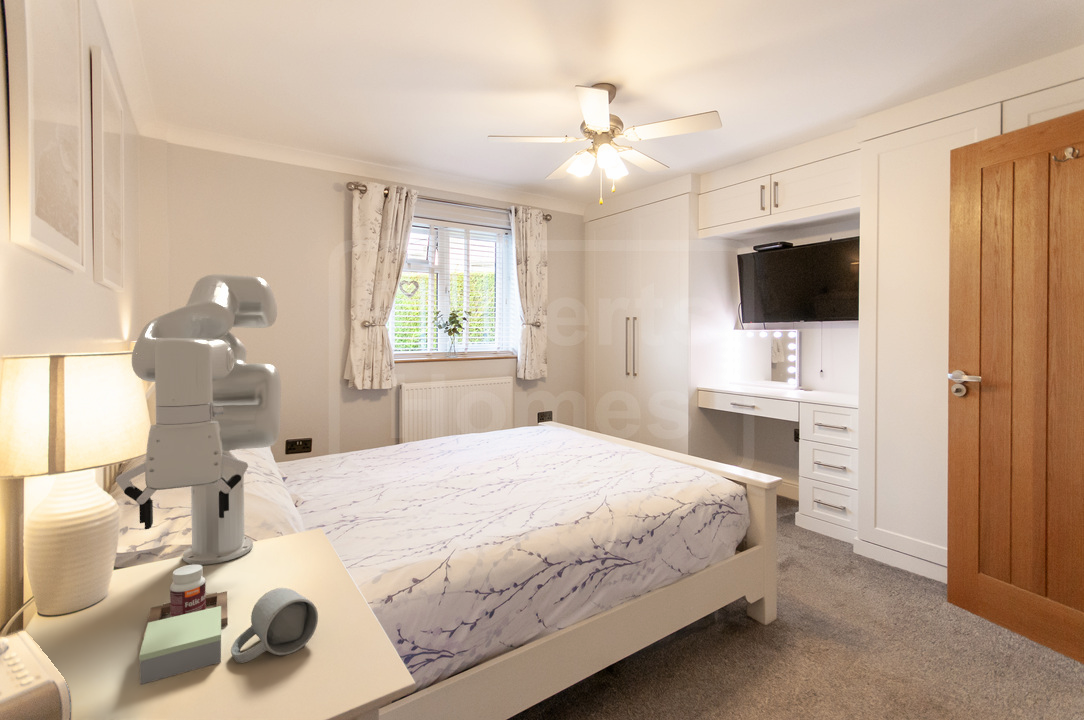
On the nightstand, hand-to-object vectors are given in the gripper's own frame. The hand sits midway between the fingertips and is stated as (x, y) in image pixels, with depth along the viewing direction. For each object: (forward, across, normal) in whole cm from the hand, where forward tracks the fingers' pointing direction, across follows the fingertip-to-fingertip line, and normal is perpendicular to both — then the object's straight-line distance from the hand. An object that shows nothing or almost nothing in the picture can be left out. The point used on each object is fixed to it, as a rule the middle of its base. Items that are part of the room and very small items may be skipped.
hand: (186, 521), depth 81 cm
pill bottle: (+17, 0, -1) cm, 17 cm away
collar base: (+16, 0, -1) cm, 17 cm away
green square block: (+17, 0, +10) cm, 20 cm away
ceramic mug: (+17, -11, +14) cm, 25 cm away
